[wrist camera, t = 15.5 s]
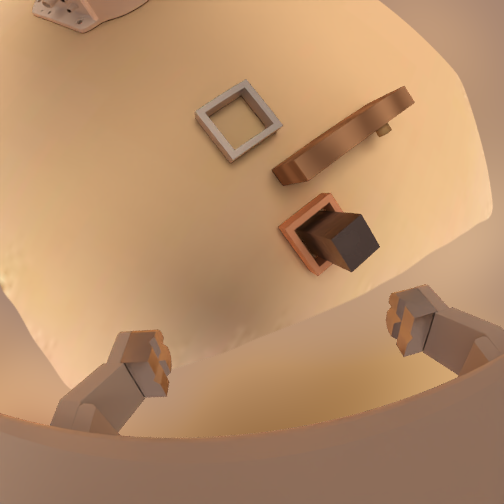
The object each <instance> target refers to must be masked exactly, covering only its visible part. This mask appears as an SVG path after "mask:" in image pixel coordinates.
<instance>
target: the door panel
mask: <svg viewBox="0 0 504 504" xmlns="http://www.w3.org/2000/svg"><path fill="white" fill-rule="evenodd" d="M414 103H415V102H414V100H413V99H412V97H411V96H410V94H409V92H408V91H407V89H406V88H405V86H403V87H401V88H399V89H397V90H394V91H392V92H390V93H388V94H386V95H384V96H382V97H380V98H378V99H376V100H374V101H372V102H370V103H368V104H367V105H365V106H364V107H362V108H360V109H359V110H357V111H356V112H354V113H353V114H351V115H350V116H348V117H347V118H345V119H344V120H342V121H341V122H339V123H338V124H336V125H335V126H333V127H332V128H330V129H329V130H327V131H326V132H325V133H323V134H322V135H320V136H319V137H317V138H316V139H314V140H313V141H311V142H310V143H309V144H307V145H306V146H304V147H303V148H301V149H300V150H299V151H297V152H296V153H294V154H293V155H292V156H290V157H289V158H287V159H286V160H285V161H283V162H282V163H280V164H279V165H278V166H276V167H275V168H274V169H272V171H273V172H274V174H275V175H276V176H277V178H278V179H279V181H280V182H281V183H282V185H288V184H294V183H299V182H305V181H309V180H310V179H312V178H313V177H314V176H316V175H317V174H318V173H320V172H321V171H322V170H324V169H325V168H326V167H328V166H329V165H330V164H332V163H333V162H334V161H336V160H337V159H338V158H340V157H341V156H342V155H344V154H345V153H346V152H348V151H349V150H350V149H352V148H353V147H354V146H356V145H357V144H359V143H360V142H361V141H363V140H364V139H365V138H367V137H368V136H369V135H371V134H372V133H373V132H375V131H376V133H377V135H378V136H379V137H381V136H383V135H385V134H387V133H389V132H390V131H391V130H392V129H391V128H390V126H389V124H388V123H387V122H389V121H390V120H391V119H393V118H394V117H396V116H397V115H398V114H400V113H401V112H402V111H404V110H405V109H407V108H408V107H409V106H411V105H412V104H414Z"/></svg>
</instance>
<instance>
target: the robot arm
mask: <svg viewBox="0 0 504 504" xmlns="http://www.w3.org/2000/svg"><path fill="white" fill-rule="evenodd" d="M146 1H147V0H36V1H35V3H34V6H33V9H32V13H33V14H34V15H35V16H37V17H40V18H43V19H46V20H49V21H52V22H55V23H57V24H60V25H63V26H65V27H68V28H70V29H73V30H75V31H78V32H81V33H84V32H87V31H89V30H91V29H93V28H94V27H96V26H97V25H99V24H100V23H102V22H104V21H107V20H110V19H113V18H116V17H119V16H122V15H124V14H127V13H129V12H131V11H133V10H134V9H136V8H138V7H139V6H141V5H142V4H144V3H145V2H146ZM81 22H82V23H81ZM80 23H81V24H80ZM389 304H390V305H391V308H390V309H389V310H388V311H387V315H386V325H387V329H388V331H389V333H390V335H391V336H392V337H393V338H395V339H397V343H396V345H397V346H398V348H399V350H400V351H401V353H402V355H403V357H405V356H408V355H412V354H415V353H419V352H421V351H423V353H425V354H426V355H428V356H430V357H431V358H433V359H434V360H436V361H437V362H439V363H441V364H442V365H444V366H445V367H447V368H448V369H450V370H451V371H453V372H455V373H456V374H457V375H458V377H457V378H455V379H453V380H451V381H449V382H447V383H444V384H441V385H439V386H437V387H434V388H432V389H429V390H427V391H424V392H422V393H419V394H417V395H414V396H411V397H408V398H405V399H403V400H400V401H397V402H394V403H391V404H388V405H384V406H381V407H378V408H375V409H371V410H368V411H365V412H361V413H358V414H354V415H350V416H346V417H342V418H338V419H334V420H329V421H325V422H321V423H315V424H311V425H306V426H300V427H294V428H288V429H282V430H276V431H269V432H261V433H252V434H243V435H232V436H220V437H219V436H218V437H198V438H151V437H130V436H121V435H120V434H119V433H118V432H119V430H120V429H121V428H122V427H123V426H124V424H125V423H126V422H127V420H128V419H129V418H130V417H131V415H132V414H133V413H134V412H135V410H136V409H137V408H138V407H139V405H140V404H141V403H142V402H143V400H144V399H145V398H144V397H164V396H165V397H166V396H167V392H168V386H169V381H168V378H167V376H168V375H169V373H170V372H171V367H172V363H171V355H170V352H169V349H168V347H167V346H165V345H164V344H163V339H164V337H163V335H162V333H161V331H160V330H142V331H126V332H120V333H119V334H118V335H117V338H116V340H115V343H114V345H113V348H112V350H111V353H110V355H109V358H108V361H107V363H106V364H102V365H101V366H99V367H98V368H97V369H96V370H95V371H94V372H92V373H91V374H90V375H89V376H88V377H86V378H85V379H84V380H83V381H82V382H80V383H79V384H78V385H77V386H76V387H75V388H73V389H72V390H71V391H70V392H69V393H67V394H66V395H65V396H64V397H63V398H62V399H60V401H59V403H58V406H57V408H56V411H55V414H54V416H53V419H52V422H51V424H50V426H49V425H44V424H39V423H35V422H31V421H27V420H23V419H19V418H15V417H11V416H8V415H5V414H1V413H0V504H504V330H503V329H502V328H501V327H500V326H498V325H495V324H493V323H490V322H488V321H485V320H483V319H480V318H478V317H475V316H473V315H470V314H468V313H465V312H463V311H460V310H458V309H455V308H453V307H452V308H449V307H448V306H447V305H446V304H445V303H444V302H443V301H442V300H441V298H440V297H439V296H438V295H437V294H436V293H435V292H434V291H433V290H432V289H431V288H430V287H429V286H428V285H426V284H424V285H421V286H417V287H414V288H411V289H407V290H402V291H399V292H394V293H391V295H390V298H389Z"/></svg>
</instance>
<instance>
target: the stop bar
mask: <svg viewBox="0 0 504 504" xmlns="http://www.w3.org/2000/svg"><path fill="white" fill-rule="evenodd" d="M295 230H296V232H297V233H298V235H299V236H300V237H301V239H302V240H303V242H304V243H305V245H306V246H307V247H308V249H309V250H310V252H311V253H312V254H314V255H316V256H318V257H320V258H323V259H325V260H327V261H329V262H331V263H333V264H335V265H337V266H340V267H342V268H344V269H346V270H348V271H350V272H352V271H354V270H355V269H356V268H357V267H358V266H359V265H360V264H362V263H363V262H364V261H365V260H366V259H367V258H368V257H369V256H370V255H371V254H373V253H374V252H375V251H376V250H377V249H378V248H379V247H380V246H379V244H378V242H377V241H376V239H375V237H374V235H373V234H372V232H371V230H370V228H369V227H368V225H367V223H366V222H365V220H364V218H363V216H362V215H361V214H354V213H344V212H333V211H321V210H319V211H318V212H317V213H315V214H314V215H313V216H311V217H310V218H309V219H308V220H306V221H305V222H304V223H303V224H301V225H300V226H299V227H298V228H296V229H295Z"/></svg>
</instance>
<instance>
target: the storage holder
mask: <svg viewBox="0 0 504 504" xmlns="http://www.w3.org/2000/svg"><path fill="white" fill-rule="evenodd" d="M240 96H242V97H243V99H244V100H245V101H246V102H247V104H248V105H249V106H250V107H251V109H252V110H253V111H254V112H255V114H256V115H257V116H258V117H259V119H260V120H261V121H262V122H263V124H264V125H265V126H266V129H265V130H263V131H262V132H260V133H259V134H257V135H256V136H254V137H253V138H251V139H250V140H249V141H247V142H246V143H244V144H243V145H241V146H240V147H239V148H237V149H236V150H234V149H233V147H232V146H231V145H230V144H229V142H228V141H227V140H226V138H225V137H224V136H223V135H222V133H221V132H220V131H219V130H218V128H217V127H216V126H215V124H214V123H213V122H212V121H211V119H210V118H209V116H211V115H212V114H213V113H215V112H216V111H218V110H219V109H221V108H223V107H224V106H226V105H227V104H229V103H230V102H232V101H233V100H235V99H237V98H238V97H240ZM195 119H196V120H197V121H198V123H199V124H200V125H201V126H202V128H203V129H204V130H205V131H206V133H207V134H208V135H209V136H210V138H211V139H212V140H213V142H214V143H215V144H216V145H217V147H218V148H219V149H220V151H221V152H222V153H223V154H224V156H225V157H226V158H227V160H228V161H229V162H230V163H232V162H233V161H235V160H236V159H237V158H239V157H240V156H242V155H243V154H244V153H246V152H247V151H249V150H250V149H251V148H253V147H254V146H256V145H257V144H259V143H260V142H261V141H263V140H264V139H266V138H267V137H269V136H270V135H272V134H273V133H275V132H276V131H277V130H279V129H280V128H281V127H282V126H283V125H282V123H281V122H280V121H279V119H278V118H277V117H276V116H275V114H274V113H273V112H272V110H271V109H270V108H269V107H268V105H267V104H266V103H265V102H264V100H263V99H262V98H261V97H260V95H259V94H258V93H257V92H256V91H255V89H254V88H253V87H252V86H251V84H250V83H249V82H248V81H247V80H246V79H245V80H244V81H242V82H240V83H239V84H237V85H235V86H234V87H232V88H230V89H229V90H227V91H226V92H224V93H222V94H221V95H219V96H218V97H216V98H214V99H213V100H211V101H210V102H208V103H207V104H205V105H204V106H202V107H201V108H199V109H198V110H196V111H195Z"/></svg>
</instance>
